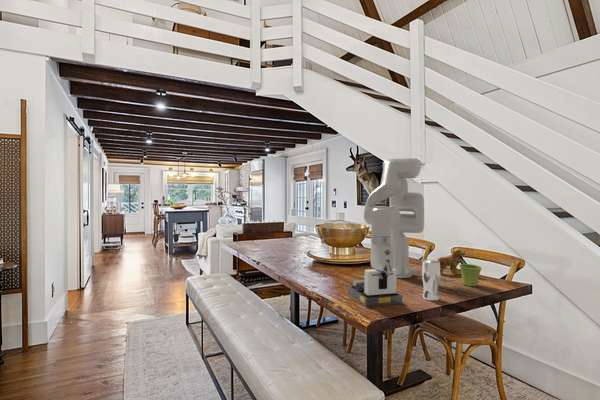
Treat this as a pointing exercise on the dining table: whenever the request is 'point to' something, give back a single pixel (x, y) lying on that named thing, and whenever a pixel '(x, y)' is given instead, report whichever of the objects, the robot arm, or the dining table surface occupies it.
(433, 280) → the beer glass
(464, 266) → the plant pot
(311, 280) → the dining table surface
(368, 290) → the panel
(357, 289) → the tray
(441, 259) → the figurine
